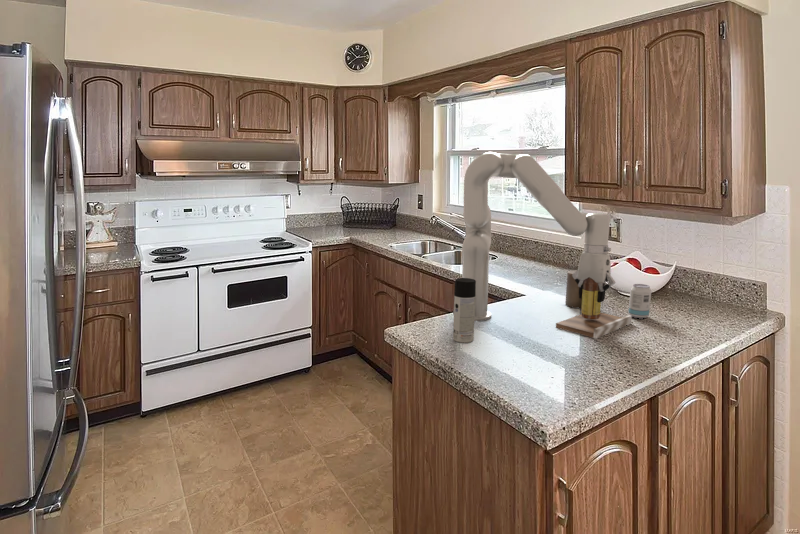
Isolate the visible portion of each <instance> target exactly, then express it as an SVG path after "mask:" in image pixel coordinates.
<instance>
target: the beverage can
mask: <svg viewBox="0 0 800 534" xmlns="http://www.w3.org/2000/svg"><path fill="white" fill-rule="evenodd" d="M650 287H651V286H650V285H648V284H643V283H634V284H633V285H632V287H631V288H630V293H629V301H628V303H629V304H628V312H627V313H628V315H631V316H632V318H633V317H634V319H636V318H639V320H644V319H643V318H645V319H646V318H648V317H649V316H650V310H651V309H650V308H651V301H652V300H651V298H652V289H651V288H650Z"/></svg>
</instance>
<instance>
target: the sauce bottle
mask: <svg viewBox="0 0 800 534" xmlns="http://www.w3.org/2000/svg"><path fill="white" fill-rule="evenodd" d="M598 291H600V289H599V285H598V283H596V282H595V281H594V280H593V279H592V278H590V277H588V278H587V279H585V280H584V281H583V290H582V309H581V314H582V317H584V318H586V319H598V318H599V317H600V312H601V307H602V304H601V303H602V302H600V303H599V302H597V299H598Z"/></svg>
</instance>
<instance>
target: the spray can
mask: <svg viewBox="0 0 800 534" xmlns="http://www.w3.org/2000/svg"><path fill="white" fill-rule="evenodd" d="M475 296H476V280H474V279H470V278H462V277H458V278H456V279H455V280H454V297H453V301H454V302H453V311H454V314H453V328H452V329H453V330H452V331H453V332H452V336H453V337H452V338H453V341H454V342H456V343H459V344H468V343H469V342H470V343H473V341H474V339H475V321H474V319H475ZM470 343H469V344H470Z"/></svg>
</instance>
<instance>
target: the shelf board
mask: <svg viewBox="0 0 800 534" xmlns="http://www.w3.org/2000/svg"><path fill="white" fill-rule="evenodd" d="M632 318H633V317H632V316H631V315H629V314H628V315H625V316H623V317H621V316H617V315H614V314H609V313H605V312H601V311H600V317H599V318H598V319H586V318H584V317H582V313H581V314H578V315H576V316H572V317H570V318H567V319H564V320H561V321H559V322H556V323H555V328H556V329H557V328H558V329H561V330H564V331H568V332H571V333H575V334H579V335H582V336H585V337H590V338H593V339H599V338H601V337H603V336H605V335H607V334H610V333H613V332H615V331H617V330H619V328H620V329H623V328H625V327H626V325H627V326H629V325H631V324H632Z"/></svg>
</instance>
